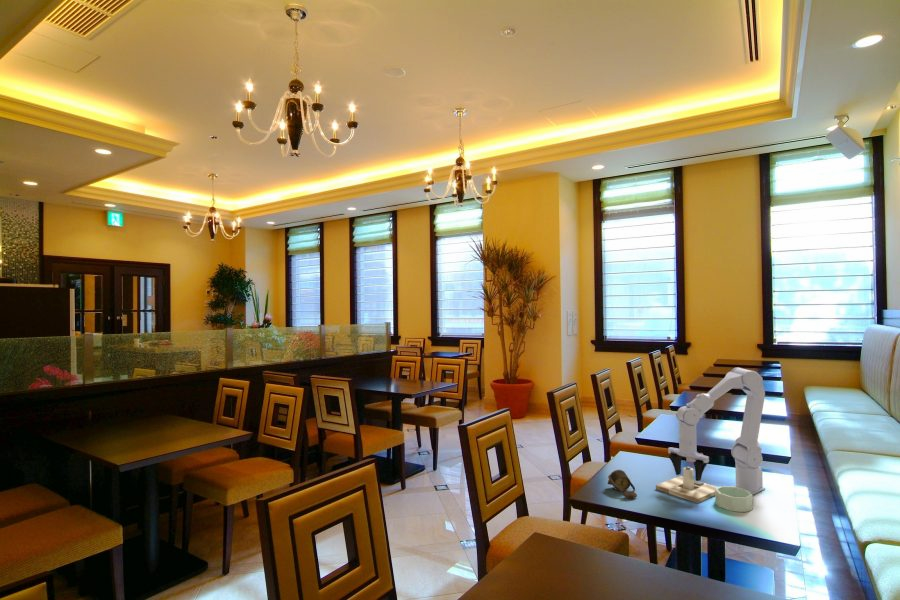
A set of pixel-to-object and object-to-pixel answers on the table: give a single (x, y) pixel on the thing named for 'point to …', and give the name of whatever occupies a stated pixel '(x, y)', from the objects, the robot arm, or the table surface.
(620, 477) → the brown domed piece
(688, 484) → the cell
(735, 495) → the pale green bowl
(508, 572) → the table surface
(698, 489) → the plate
